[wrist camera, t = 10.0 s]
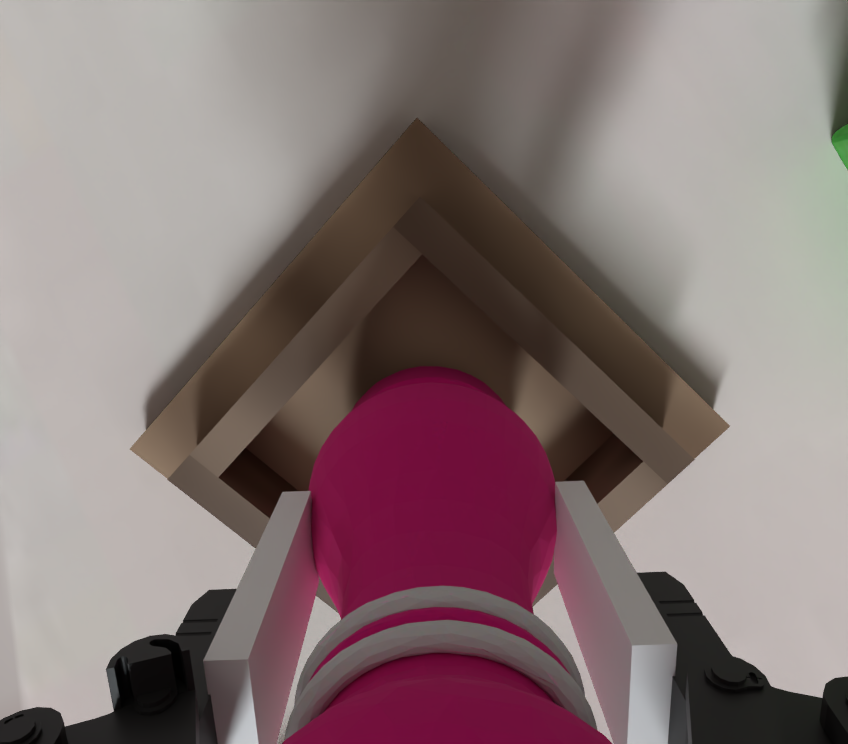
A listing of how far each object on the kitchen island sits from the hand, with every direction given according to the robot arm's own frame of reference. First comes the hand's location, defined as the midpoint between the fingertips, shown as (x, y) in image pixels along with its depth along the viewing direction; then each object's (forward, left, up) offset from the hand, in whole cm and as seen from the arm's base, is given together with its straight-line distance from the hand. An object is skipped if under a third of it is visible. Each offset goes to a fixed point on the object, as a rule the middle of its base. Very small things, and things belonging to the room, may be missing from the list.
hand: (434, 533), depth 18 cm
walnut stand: (0, 0, -9) cm, 9 cm away
